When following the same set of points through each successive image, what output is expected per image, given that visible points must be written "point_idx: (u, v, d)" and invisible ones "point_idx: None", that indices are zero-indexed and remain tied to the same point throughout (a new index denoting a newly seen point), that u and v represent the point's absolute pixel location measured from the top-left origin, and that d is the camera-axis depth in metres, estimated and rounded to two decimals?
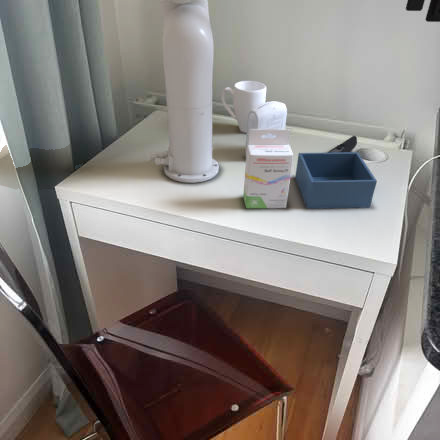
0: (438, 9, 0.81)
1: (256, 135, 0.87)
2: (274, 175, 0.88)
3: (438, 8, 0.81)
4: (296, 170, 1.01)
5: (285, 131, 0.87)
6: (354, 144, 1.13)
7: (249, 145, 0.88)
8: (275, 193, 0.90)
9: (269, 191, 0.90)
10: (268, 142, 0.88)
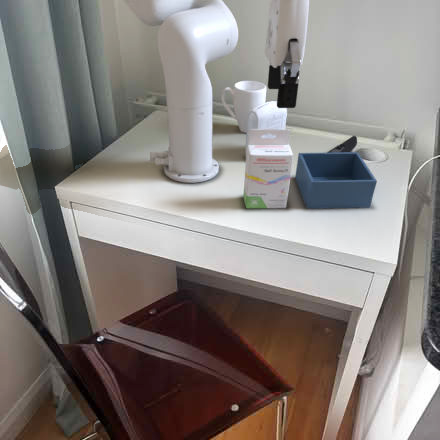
0: (286, 97, 0.75)
1: (256, 135, 0.87)
2: (274, 175, 0.88)
3: (286, 96, 0.75)
4: (296, 170, 1.01)
5: (285, 131, 0.87)
6: (354, 144, 1.13)
7: (249, 145, 0.88)
8: (275, 193, 0.90)
9: (269, 191, 0.90)
10: (268, 142, 0.88)
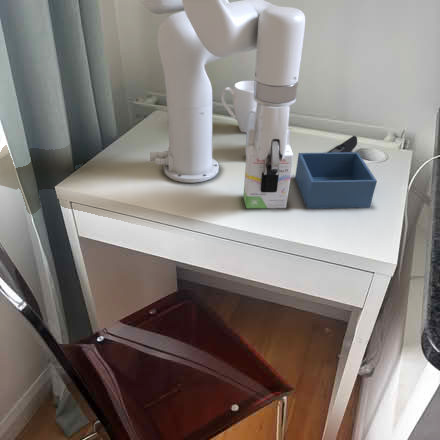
0: (268, 184, 0.87)
1: None
2: None
3: (268, 183, 0.87)
4: (296, 170, 1.01)
5: None
6: (354, 144, 1.13)
7: (249, 145, 0.88)
8: (275, 193, 0.90)
9: None
10: None
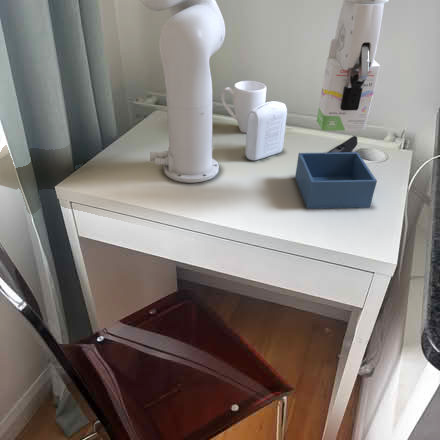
0: (351, 100, 0.81)
1: None
2: None
3: (351, 99, 0.81)
4: (296, 170, 1.01)
5: None
6: (354, 144, 1.13)
7: (330, 58, 0.82)
8: (355, 112, 0.84)
9: None
10: None
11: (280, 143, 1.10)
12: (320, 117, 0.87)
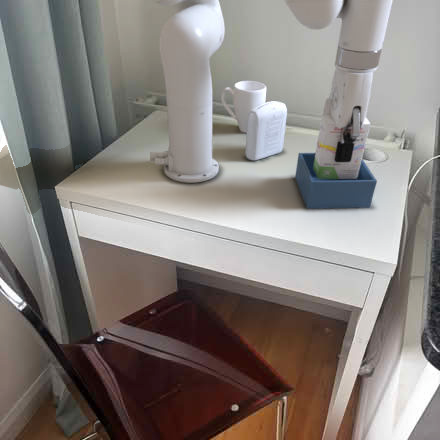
0: (344, 153, 0.88)
1: None
2: None
3: (344, 153, 0.88)
4: (296, 170, 1.01)
5: None
6: None
7: (324, 115, 0.89)
8: (348, 163, 0.91)
9: None
10: None
11: (280, 143, 1.10)
12: (316, 166, 0.94)
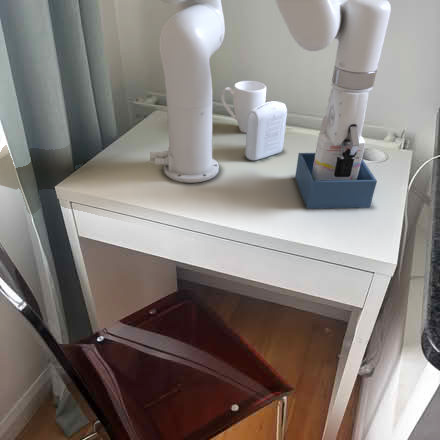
0: (343, 169, 0.88)
1: None
2: None
3: (343, 168, 0.88)
4: (296, 170, 1.01)
5: None
6: None
7: (321, 133, 0.91)
8: None
9: (339, 178, 0.93)
10: None
11: (280, 143, 1.10)
12: None
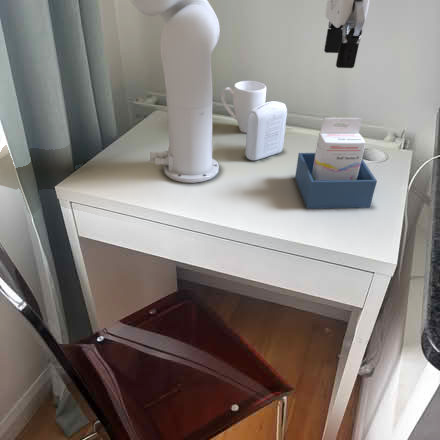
0: (347, 56, 0.79)
1: (329, 124, 0.90)
2: (345, 162, 0.91)
3: (346, 55, 0.79)
4: (296, 170, 1.01)
5: (357, 120, 0.90)
6: None
7: (321, 133, 0.91)
8: None
9: (339, 178, 0.93)
10: (339, 130, 0.92)
11: (280, 143, 1.10)
12: None
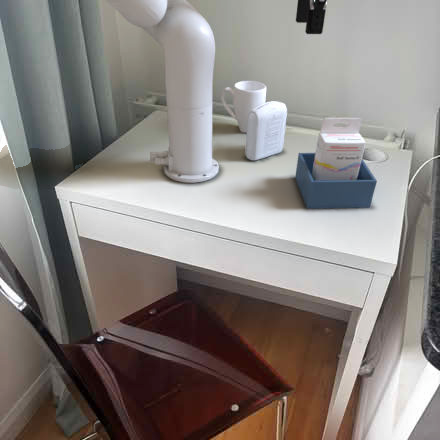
0: (315, 22, 0.85)
1: (329, 124, 0.90)
2: (345, 162, 0.91)
3: (314, 21, 0.84)
4: (296, 170, 1.01)
5: (357, 120, 0.90)
6: None
7: (321, 133, 0.91)
8: None
9: (339, 178, 0.93)
10: (339, 130, 0.92)
11: (280, 143, 1.10)
12: None
